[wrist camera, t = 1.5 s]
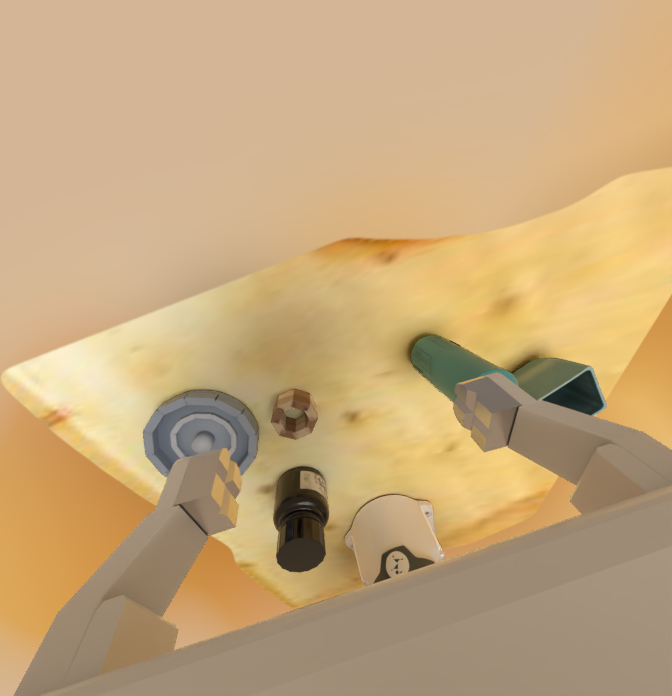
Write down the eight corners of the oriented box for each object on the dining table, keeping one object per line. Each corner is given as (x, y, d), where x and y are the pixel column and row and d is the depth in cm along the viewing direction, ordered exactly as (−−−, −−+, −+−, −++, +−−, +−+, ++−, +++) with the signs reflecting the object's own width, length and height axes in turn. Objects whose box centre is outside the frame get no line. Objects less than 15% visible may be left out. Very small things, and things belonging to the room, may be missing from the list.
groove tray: (276, 450, 44) (274, 462, 42) (191, 488, 44) (184, 502, 42) (226, 373, 39) (220, 381, 36) (130, 416, 39) (118, 427, 36)
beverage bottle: (397, 357, 41) (476, 436, 23) (422, 322, 40) (528, 375, 21) (428, 375, 43) (524, 463, 24) (452, 342, 42) (575, 408, 23)
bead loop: (321, 415, 43) (322, 427, 40) (286, 430, 43) (284, 444, 40) (304, 383, 41) (304, 394, 38) (268, 400, 41) (264, 412, 38)
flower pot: (511, 409, 48) (556, 441, 39) (492, 375, 45) (536, 402, 36) (553, 381, 47) (608, 407, 38) (536, 345, 44) (592, 364, 35)
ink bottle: (333, 494, 49) (342, 564, 37) (290, 512, 49) (286, 587, 38) (313, 456, 46) (317, 520, 34) (267, 475, 46) (255, 545, 34)
